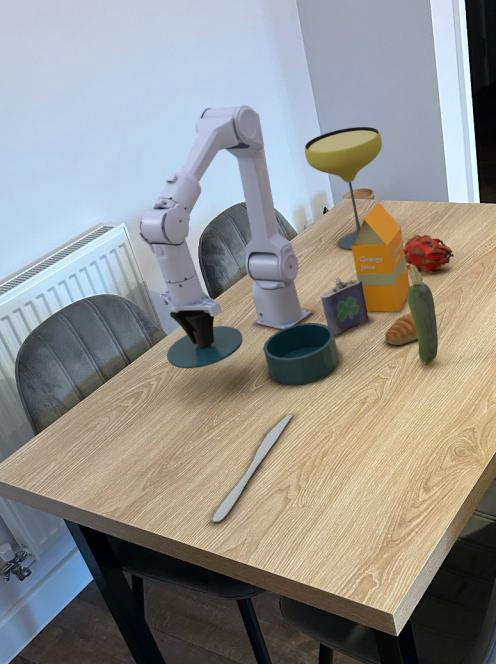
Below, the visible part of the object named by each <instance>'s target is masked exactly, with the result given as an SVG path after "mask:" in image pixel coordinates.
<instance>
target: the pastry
mask: <svg viewBox="0 0 496 664" xmlns="http://www.w3.org/2000/svg"><path fill="white" fill-rule="evenodd" d="M384 335H385V343H388V344H390V345H396V346H398V345H400V346H402V345H406V344H407V343H412V342H413V341H416V340H418V331H417V327H416V324H415V322H414V320H413V317H412V314H411V311H410V312H409V313H407V314H405V315H402V316H399V317H398V318H397V319H396V321H394V323H393V324H392V325H391V326H390V327H389V328H388V329H387V331H386V333H385V334H384Z"/></svg>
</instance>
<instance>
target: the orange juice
mask: <svg viewBox="0 0 496 664" xmlns="http://www.w3.org/2000/svg"><path fill="white" fill-rule="evenodd" d="M360 227H361V228H360V230H359V232H358V234H357V236H356V239H355V241H354V243H353V245H352V246H351V247H352V249H351V251H352V252H351V253H352V256H353V261H354V266H355V271H356V277H357V278H356V279H357V280H360V281H361V282H362V287H363V291H364V297H365V302H366V308H367V312H392V313H393V312H394V313H395V312H396V313H397V312H399V310H400V309H401V308H402V306H403V304H404V302H405V301H407V292H408V289H409V288H410V286H411V285H410V279H409V274H408V273H409V272H407V273H406V272H405V270H404V269H405V266H406V265H407V263H406V258H405V256H406V255H405V253H404V249H405V246H404V242H403V235H402V234H403V233H402V227H401V226H400V225H399V223H398V222H397V221H396V220H395V219H394V218H393V217H392V216H391V215H390V213H389V212H388V211H387V210H386V209H385V207H384V206H383V205H382V204H381V203H380V202H379V201H378V202H377V203H376V204H375V205H374V206H373V208H372V209H371V210H370V211H369V212H368V213H367V215H366V216H365V217H364V218H363V221H362V224H361V225H360Z"/></svg>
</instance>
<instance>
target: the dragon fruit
mask: <svg viewBox="0 0 496 664" xmlns="http://www.w3.org/2000/svg"><path fill="white" fill-rule="evenodd" d="M404 253H405V258H406V264H411V265H414V266H415V267H416V268H417V270H418V272H419V273H420V274H421V271H422V270H423V271H427V272H428V273H429V272H430V273H432V274H434V273H439V272H442V271H444V269H443V268H440V267H441V266H445V265H446V264H450V262H451V261H450V258H451V257H453V258H454V257H455V256H454V253H453V250H452V249H451V248H450V247H449V246H447V244H444V241H443V240H441V239H440V238H432V237H431V236H430V235H428V234H423V236H421V235H419V234H415V235H413V238H408V240H407V241H406V243H405V244H404Z"/></svg>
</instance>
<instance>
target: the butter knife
mask: <svg viewBox="0 0 496 664" xmlns="http://www.w3.org/2000/svg"><path fill="white" fill-rule="evenodd" d="M292 416H293V415H292V414H288V415H286V416H285V417H283V418H282V419H281V420H280V421H279V422H278V423H277V424H276V425H275V426H274V427H273V428H272V429H271V430H270V431H269V432H268V433H267V435H266V436H265V437H264V439H263V441H262V442H261V444H260V446H259V447H258V448H257V450H256V453H255V455H254V457H253V460H252V462H251V464H250V465H249V467H248V469H247V470H246V472H245V473H244V475H243V476H242V478H241V479H240V480H239V482H238V483H237V484H236V485H235V487H233V489H232V490H231V491H230V493H229V494H228V495H227V496H226V497H225V498H224V501H222V503H221V504H220V506H219V507H218V509H217V510H216V511H215V513H214V514H213V516H212V522H214V523H219V522H221V521H222V520H223V519H224V518H226V516H227V515H228V513H229V512H230V510H231V509H232V507H233V506H234V504H235V503H236V502H237V500H238V499H239V497H240V496H241V493H242V492H243V490H244V488H245V486H246V485H247V483H248V482H249V480H250V479H251V477H252V475H253V474H254V472H255V471H256V469H257V467H258V466H259V464H260V463H261V462H262V460H263V459H264V457H265V456H266V455H267V453H268V452H269V451H270V449H271V448H272V447H273V445H274V444H275V443H276V441H277V440H278V438H279V437H280V435H281V433H282V432H283V431H284V429H285V427H286V425H287V424H288V423H289V421H290V420H291V418H292Z"/></svg>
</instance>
